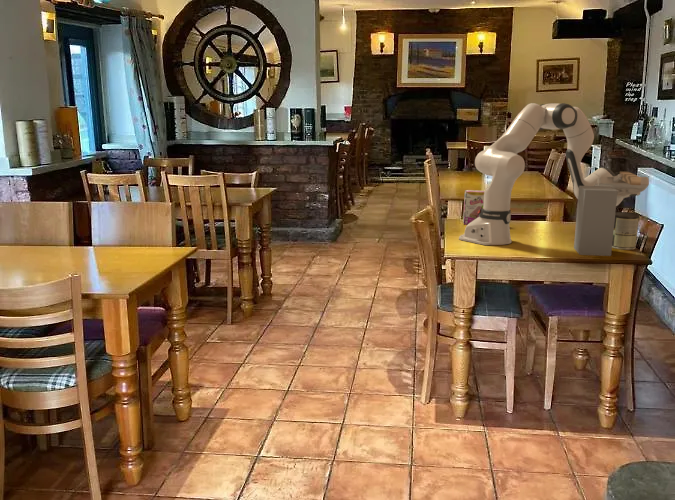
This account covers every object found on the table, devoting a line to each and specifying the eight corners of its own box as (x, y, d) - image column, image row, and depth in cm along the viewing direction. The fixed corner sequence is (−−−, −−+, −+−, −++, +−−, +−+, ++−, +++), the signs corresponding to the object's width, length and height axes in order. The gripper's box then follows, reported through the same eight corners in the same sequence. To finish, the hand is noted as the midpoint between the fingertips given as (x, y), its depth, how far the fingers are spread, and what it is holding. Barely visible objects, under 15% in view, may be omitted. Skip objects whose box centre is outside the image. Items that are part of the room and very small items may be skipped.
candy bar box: (463, 224, 325) (465, 191, 321) (462, 222, 330) (464, 189, 326) (487, 225, 324) (489, 191, 320) (485, 223, 329) (487, 190, 325)
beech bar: (640, 185, 264) (641, 177, 263) (631, 184, 265) (632, 177, 264) (627, 178, 282) (628, 171, 282) (619, 178, 283) (619, 171, 282)
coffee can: (603, 245, 282) (607, 212, 279) (622, 243, 286) (625, 211, 283) (622, 250, 273) (626, 216, 270) (641, 248, 277) (645, 215, 274)
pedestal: (611, 255, 264) (617, 190, 258) (579, 254, 266) (585, 189, 260) (604, 249, 276) (610, 186, 270) (573, 247, 278) (579, 185, 272)
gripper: (593, 181, 293) (600, 168, 279) (642, 181, 290) (652, 169, 276) (593, 194, 291) (601, 182, 278) (643, 195, 288) (653, 183, 275)
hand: (627, 175), depth 277 cm, fingers closed on beech bar, 3 cm apart
